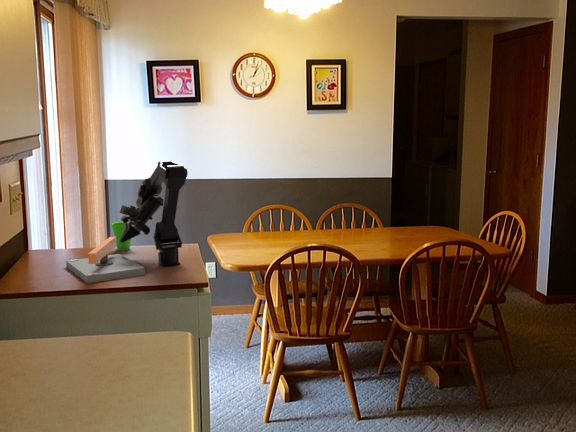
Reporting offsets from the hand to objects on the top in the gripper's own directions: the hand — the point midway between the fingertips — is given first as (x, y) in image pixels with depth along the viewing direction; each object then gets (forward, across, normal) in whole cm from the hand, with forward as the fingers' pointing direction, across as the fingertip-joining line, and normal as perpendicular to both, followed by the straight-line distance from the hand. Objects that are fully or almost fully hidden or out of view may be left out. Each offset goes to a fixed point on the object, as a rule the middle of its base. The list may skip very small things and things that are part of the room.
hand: (120, 242), depth 234 cm
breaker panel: (+12, +11, -2) cm, 17 cm away
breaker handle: (+11, +11, -3) cm, 16 cm away
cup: (0, -22, +11) cm, 25 cm away
